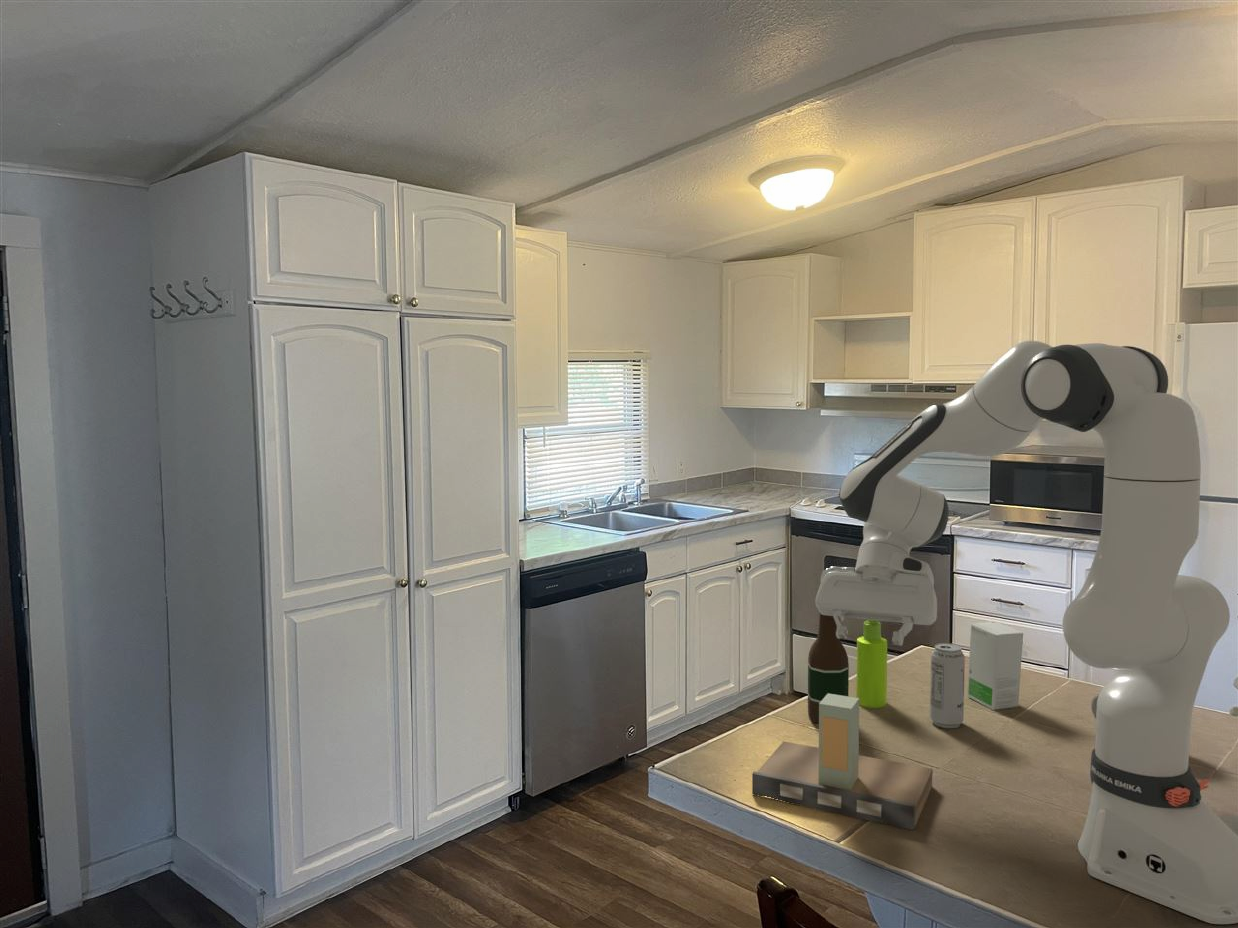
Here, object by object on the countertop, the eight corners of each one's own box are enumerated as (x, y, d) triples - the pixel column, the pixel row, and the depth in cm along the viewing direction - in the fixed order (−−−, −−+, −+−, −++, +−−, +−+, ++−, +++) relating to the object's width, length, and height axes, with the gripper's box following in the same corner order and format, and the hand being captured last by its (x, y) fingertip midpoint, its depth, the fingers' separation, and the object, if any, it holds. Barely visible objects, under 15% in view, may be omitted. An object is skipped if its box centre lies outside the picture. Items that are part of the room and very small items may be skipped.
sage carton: (858, 777, 145) (859, 698, 143) (850, 790, 140) (851, 708, 139) (827, 771, 147) (827, 693, 146) (818, 784, 143) (818, 703, 141)
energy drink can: (966, 730, 170) (968, 652, 169) (932, 728, 171) (934, 651, 170) (959, 718, 176) (961, 642, 175) (927, 716, 177) (928, 641, 176)
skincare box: (966, 696, 188) (968, 623, 186) (993, 693, 190) (995, 620, 188) (994, 711, 180) (996, 634, 178) (1021, 707, 182) (1024, 630, 180)
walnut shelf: (932, 786, 148) (932, 765, 147) (913, 830, 134) (913, 807, 133) (783, 757, 160) (783, 737, 159) (751, 795, 145) (751, 774, 145)
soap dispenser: (892, 709, 181) (894, 611, 179) (857, 706, 183) (858, 609, 181) (890, 698, 187) (891, 603, 185) (855, 696, 189) (856, 602, 187)
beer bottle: (856, 723, 174) (858, 600, 172) (822, 729, 172) (823, 605, 169) (832, 709, 182) (833, 591, 179) (799, 715, 179) (800, 596, 176)
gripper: (819, 556, 163) (804, 625, 156) (938, 564, 153) (927, 638, 146) (827, 574, 168) (812, 642, 161) (943, 583, 158) (933, 655, 150)
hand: (868, 640), depth 153 cm, fingers open, 8 cm apart
